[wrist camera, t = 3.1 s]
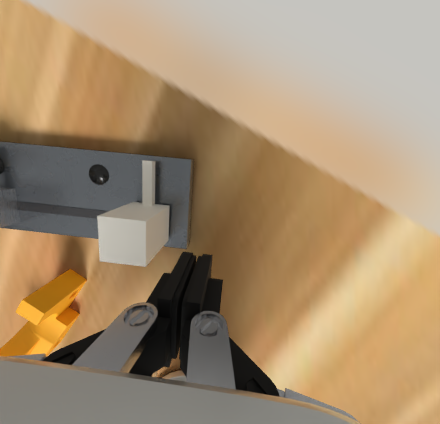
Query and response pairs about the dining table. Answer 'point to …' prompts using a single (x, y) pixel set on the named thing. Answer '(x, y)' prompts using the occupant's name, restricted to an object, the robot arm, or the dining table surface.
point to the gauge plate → (86, 189)
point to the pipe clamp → (46, 316)
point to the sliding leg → (135, 226)
